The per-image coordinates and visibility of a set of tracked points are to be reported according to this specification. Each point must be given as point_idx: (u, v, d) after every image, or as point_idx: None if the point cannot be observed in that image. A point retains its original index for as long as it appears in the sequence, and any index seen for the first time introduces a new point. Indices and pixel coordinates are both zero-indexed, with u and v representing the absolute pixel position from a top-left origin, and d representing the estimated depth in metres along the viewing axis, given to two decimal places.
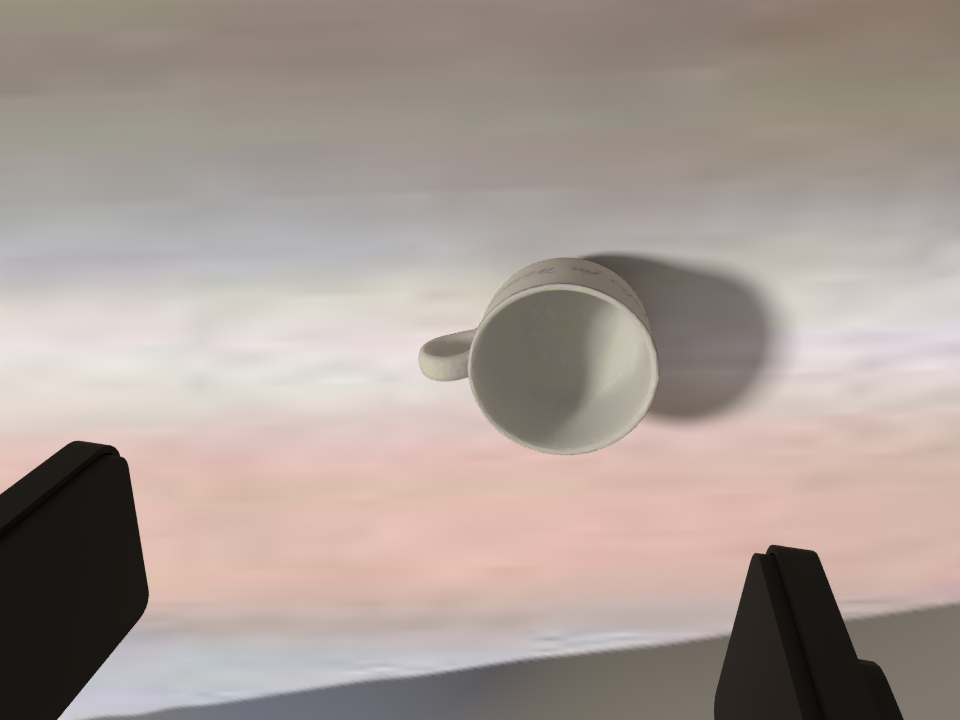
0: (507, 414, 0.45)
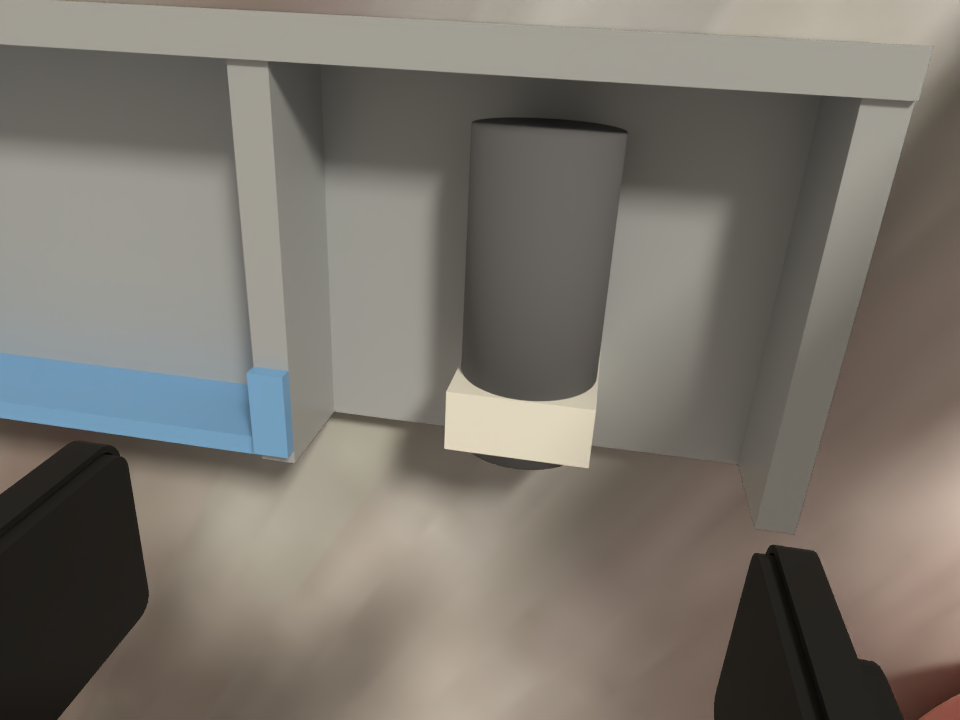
0: None
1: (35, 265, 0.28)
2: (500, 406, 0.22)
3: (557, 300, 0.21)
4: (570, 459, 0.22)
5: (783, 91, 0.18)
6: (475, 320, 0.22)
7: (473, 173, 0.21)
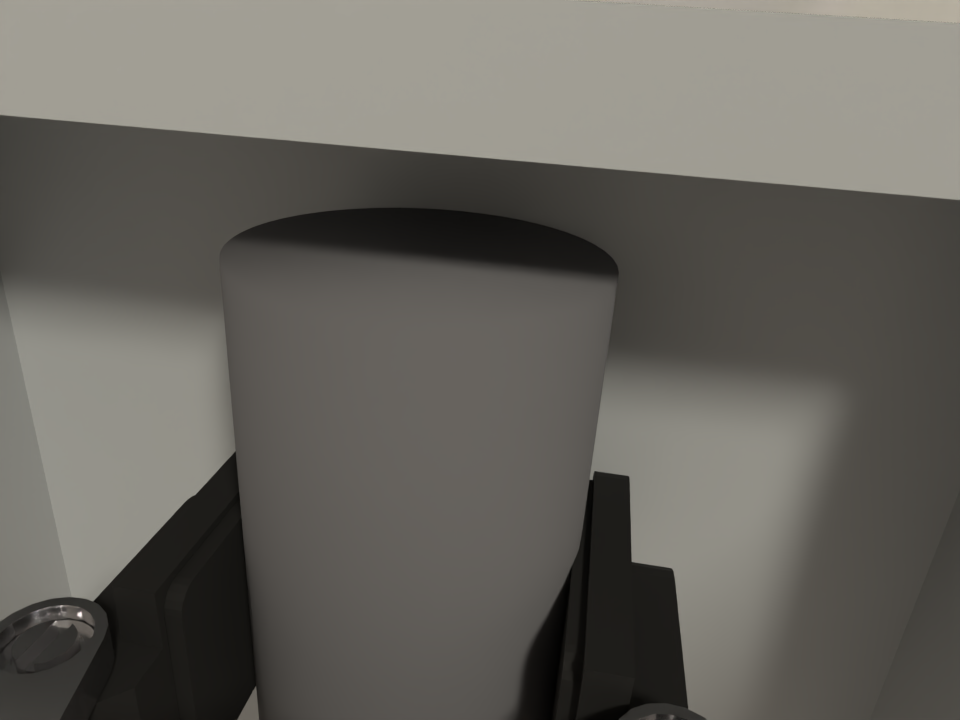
0: None
1: None
2: None
3: (438, 692, 0.08)
4: None
5: None
6: (263, 686, 0.09)
7: None
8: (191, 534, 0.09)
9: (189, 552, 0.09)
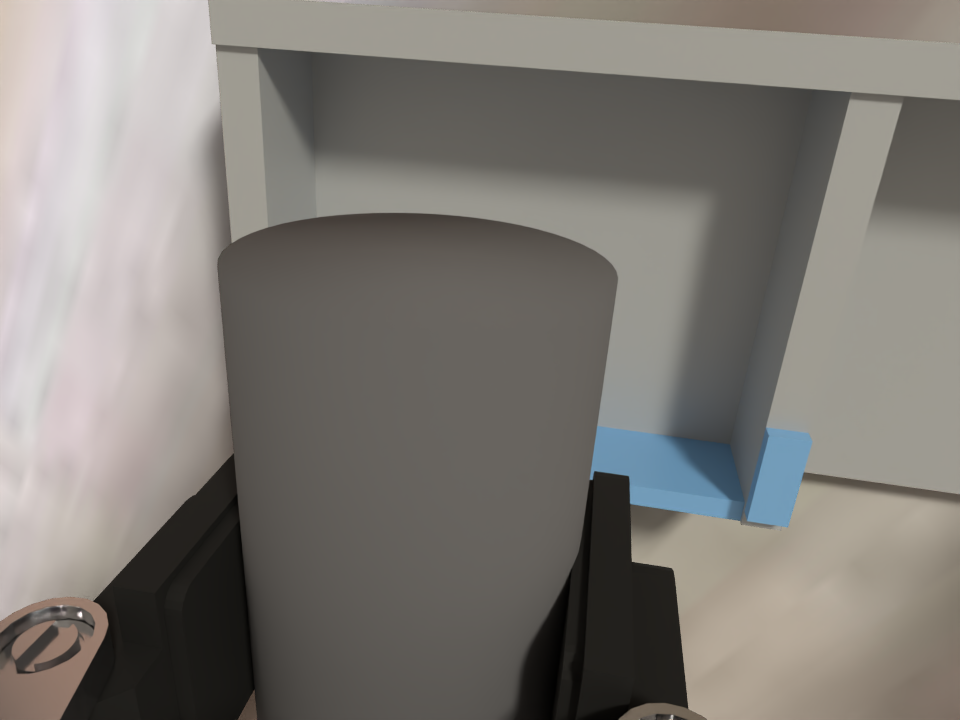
0: None
1: None
2: None
3: (437, 699, 0.08)
4: None
5: None
6: (261, 692, 0.09)
7: (227, 376, 0.08)
8: (191, 534, 0.09)
9: (189, 551, 0.09)
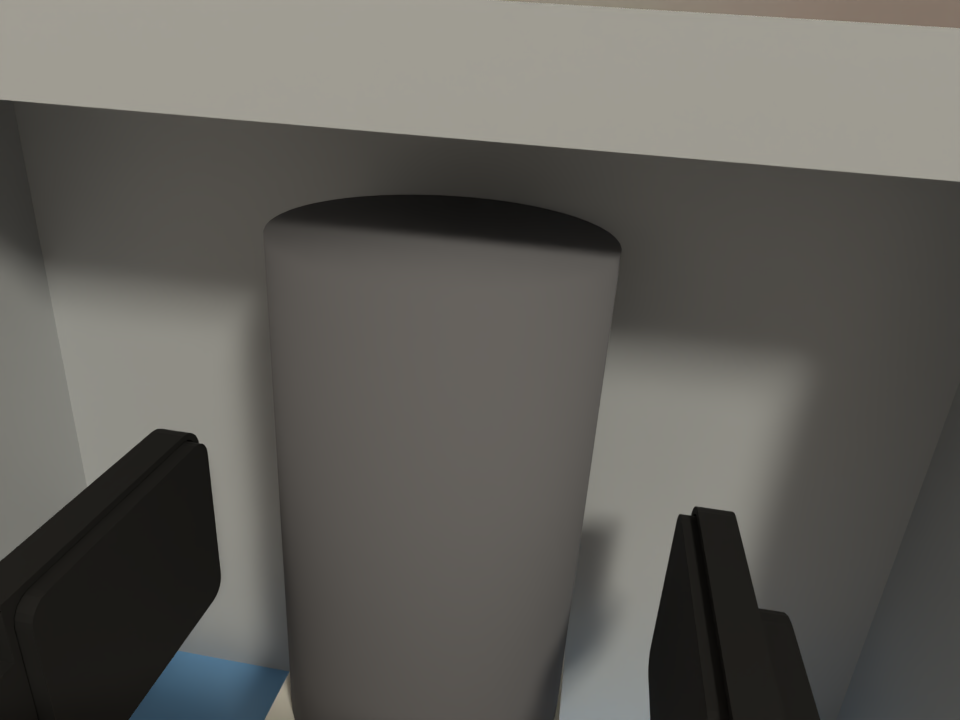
0: None
1: None
2: None
3: (459, 628, 0.09)
4: None
5: None
6: (296, 630, 0.10)
7: (270, 337, 0.09)
8: (54, 543, 0.09)
9: (47, 561, 0.08)
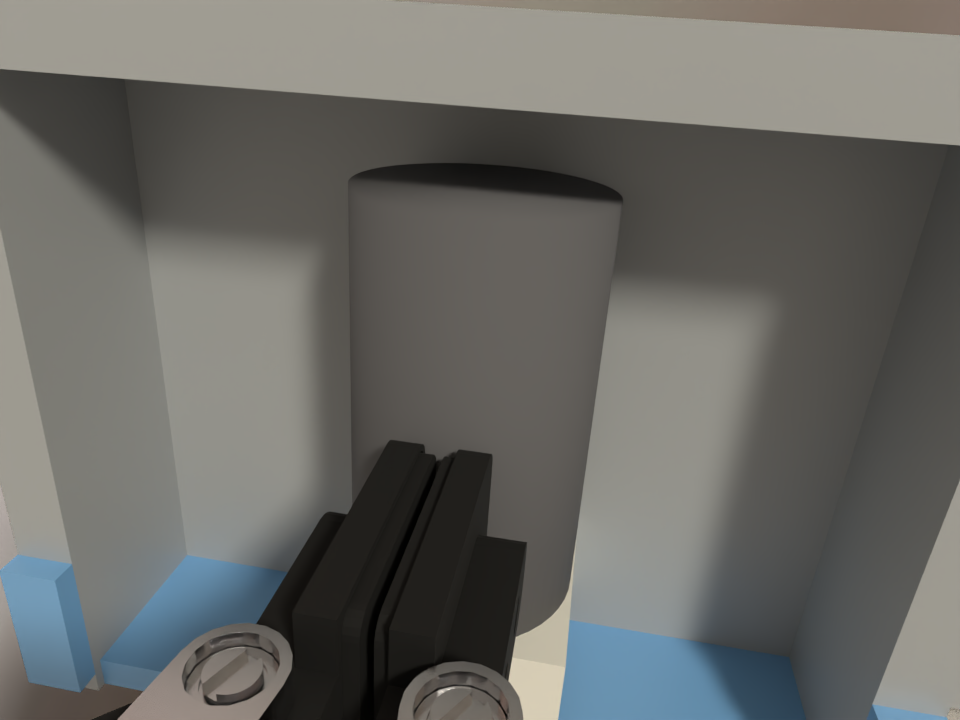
0: None
1: None
2: None
3: (497, 493, 0.12)
4: None
5: None
6: None
7: (351, 268, 0.12)
8: (355, 556, 0.09)
9: (359, 575, 0.08)
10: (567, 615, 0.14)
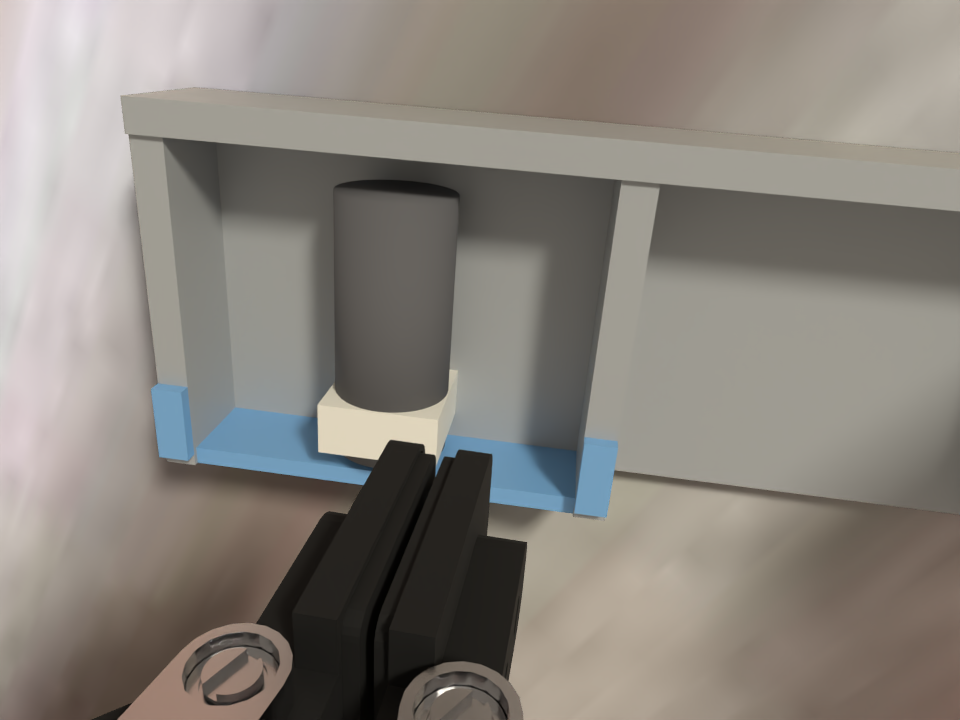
0: None
1: (333, 335, 0.31)
2: (362, 417, 0.27)
3: (403, 331, 0.26)
4: None
5: None
6: (341, 346, 0.27)
7: (334, 228, 0.26)
8: (355, 557, 0.09)
9: (359, 575, 0.08)
10: (443, 404, 0.28)
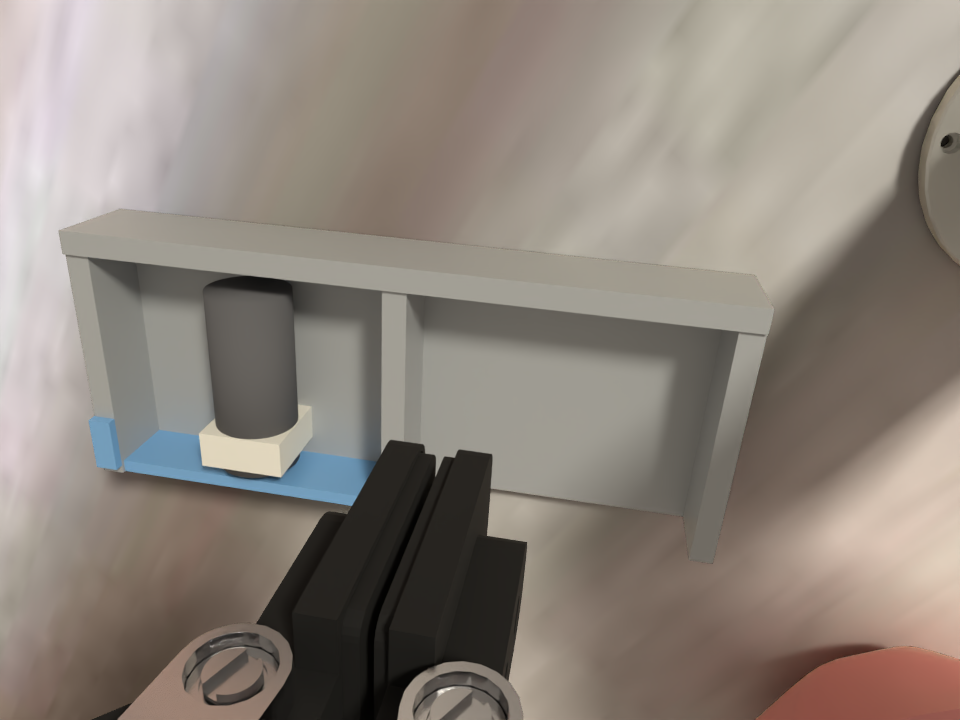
0: None
1: None
2: (229, 442, 0.39)
3: (251, 385, 0.38)
4: (270, 472, 0.39)
5: (697, 326, 0.33)
6: (214, 393, 0.39)
7: None
8: (355, 557, 0.09)
9: (359, 575, 0.08)
10: (287, 433, 0.40)
